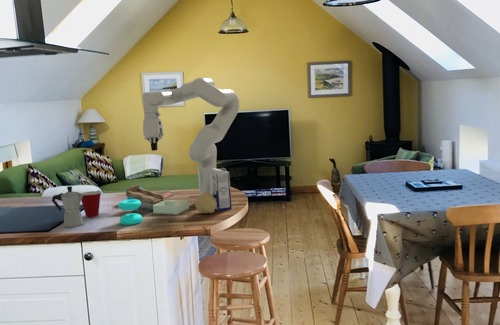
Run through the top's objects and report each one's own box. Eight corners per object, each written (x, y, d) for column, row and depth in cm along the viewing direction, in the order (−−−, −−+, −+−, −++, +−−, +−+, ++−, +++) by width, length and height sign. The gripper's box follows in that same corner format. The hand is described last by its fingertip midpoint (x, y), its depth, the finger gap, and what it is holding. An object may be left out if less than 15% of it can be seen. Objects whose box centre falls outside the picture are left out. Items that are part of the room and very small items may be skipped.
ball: (182, 210, 245) (184, 203, 243) (177, 213, 241) (180, 205, 240) (175, 206, 246) (178, 199, 245) (171, 208, 242) (173, 201, 241)
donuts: (142, 201, 224) (120, 204, 220) (144, 223, 226) (122, 226, 222) (138, 197, 233) (116, 200, 230) (140, 218, 235) (118, 221, 231)
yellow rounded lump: (220, 210, 242) (218, 188, 240) (215, 216, 230) (213, 193, 228) (200, 210, 243) (198, 188, 242) (194, 217, 232) (192, 194, 230)
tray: (189, 209, 247) (188, 201, 247) (176, 214, 237) (176, 206, 237) (166, 207, 253) (165, 200, 252) (153, 213, 243) (152, 205, 242)
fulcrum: (159, 207, 255) (158, 196, 254) (145, 213, 244) (144, 202, 243) (146, 206, 258) (145, 196, 257) (132, 212, 247) (131, 201, 247)
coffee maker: (90, 221, 235) (86, 183, 232) (85, 226, 226) (80, 187, 223) (58, 223, 234) (53, 185, 231) (51, 229, 226) (46, 189, 223)
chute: (173, 196, 260) (174, 188, 259) (152, 204, 243) (153, 196, 242) (148, 187, 266) (149, 180, 265) (126, 195, 249) (126, 188, 248)
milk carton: (214, 207, 247) (211, 167, 243) (227, 206, 249) (224, 166, 246) (218, 211, 240) (215, 169, 237) (231, 209, 242) (229, 168, 239)
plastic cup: (107, 212, 250) (105, 189, 248) (98, 218, 239) (96, 193, 237) (86, 213, 251) (84, 189, 249) (77, 219, 241) (74, 194, 239)
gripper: (167, 114, 265) (170, 149, 268) (144, 115, 271) (147, 149, 274) (159, 115, 258) (162, 151, 261) (135, 116, 264) (138, 151, 267)
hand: (154, 150), depth 267 cm, fingers closed
